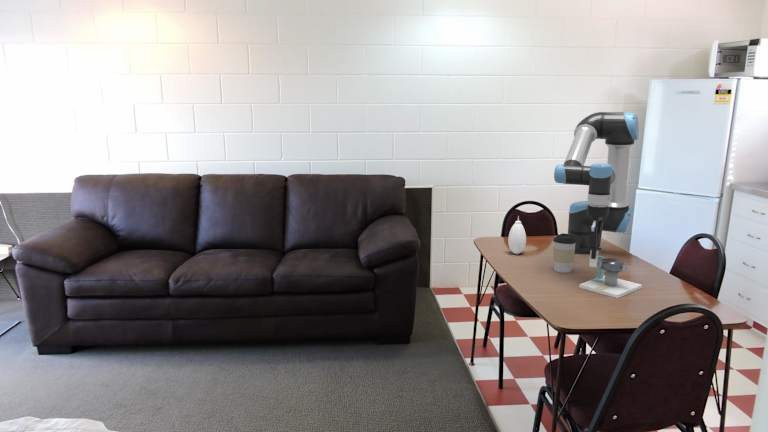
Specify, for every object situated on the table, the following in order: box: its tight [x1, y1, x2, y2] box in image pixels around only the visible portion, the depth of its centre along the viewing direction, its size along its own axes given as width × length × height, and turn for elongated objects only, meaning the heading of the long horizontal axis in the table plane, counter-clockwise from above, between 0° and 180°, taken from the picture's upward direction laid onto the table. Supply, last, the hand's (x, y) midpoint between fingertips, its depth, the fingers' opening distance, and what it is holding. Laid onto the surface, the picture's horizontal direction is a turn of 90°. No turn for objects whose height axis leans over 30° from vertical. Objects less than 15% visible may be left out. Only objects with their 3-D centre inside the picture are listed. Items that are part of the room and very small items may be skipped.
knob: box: [588, 257, 632, 273], centre depth 198 cm, size 15×8×3 cm, turn 47°
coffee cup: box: [552, 233, 576, 274], centre depth 219 cm, size 9×9×15 cm
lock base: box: [578, 255, 643, 299], centre depth 198 cm, size 18×15×10 cm
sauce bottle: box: [507, 215, 527, 255], centre depth 243 cm, size 8×8×18 cm
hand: (593, 266), depth 201 cm, fingers closed
